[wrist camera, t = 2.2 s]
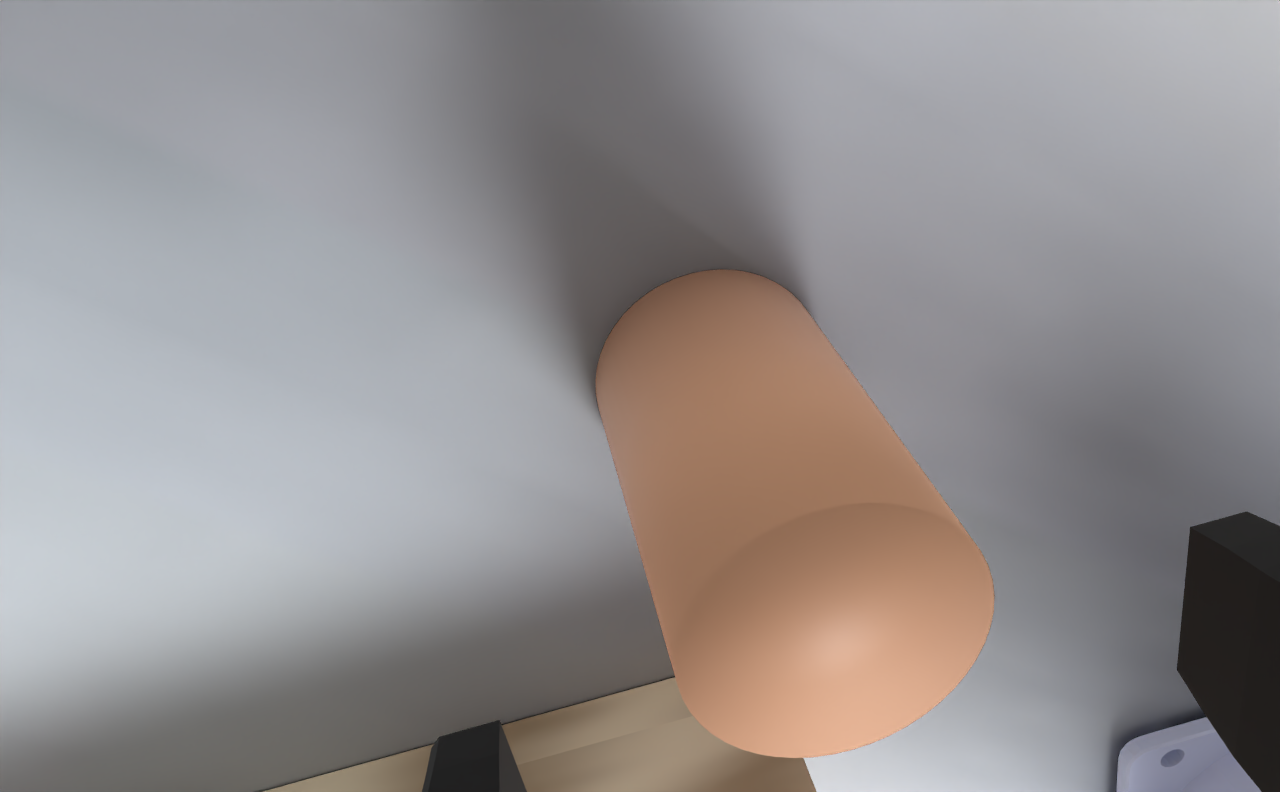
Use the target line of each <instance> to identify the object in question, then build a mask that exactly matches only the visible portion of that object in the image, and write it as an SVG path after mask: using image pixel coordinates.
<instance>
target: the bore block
mask: <svg viewBox="0 0 1280 792" xmlns="http://www.w3.org/2000/svg"><path fill="white" fill-rule="evenodd" d="M502 728H503V730H504V733H505V735H506V738H507V741H508V743H509V746H510V749H511V751H512V754H513V756H514V759H515V762H516V764H517V767H518V770H519V772H520V775H521V777H522V780H523V783H524V785H525V788H526V791H527V792H816V789H815V787H814V784H813V782H812V779H811V777H810V774H809V772H808V769H807V766H806V764H805V761H804V759H803V758H785V757H773V756H766V755H760V754H756V753H752V752H749V751H745V750H742V749H739V748H737V747H735V746H733V745H730V744H728V743H726V742H724V741H722V740H721V739H719V738H718V737H716V736H714V735H713V734H711V733H710V732H709V731H708V730H707V729H705V728H704V727H703V726H702V725H701V724H700V723H699V722H698V721H697V720H696V719H695V717H694V716H693V715H692V714H691V713H690V711H689V709H688V708H687V706H686V704H685V702H684V701H683V699H682V696H681V694H680V691H679V688H678V685H677V682H676V678H675V677H674V678H670V679H667V680H663V681H659V682H656V683H652V684H649V685H645V686H641V687H638V688H634V689H631V690H627V691H623V692H620V693H616V694H613V695H609V696H605V697H602V698H598V699H595V700H591V701H587V702H584V703H580V704H577V705H573V706H569V707H566V708H562V709H559V710H555V711H551V712H548V713H544V714H540V715H537V716H533V717H530V718H526V719H522V720H519V721H515V722H512V723H508V724H504V725H502ZM433 745H434V744H432V745H429V746H425V747H422V748H418V749H414V750H411V751H407V752H403V753H400V754H396V755H393V756H389V757H385V758H382V759H378V760H375V761H371V762H367V763H364V764H360V765H357V766H353V767H349V768H346V769H342V770H339V771H335V772H331V773H328V774H324V775H321V776H317V777H313V778H310V779H306V780H303V781H299V782H295V783H292V784H288V785H284V786H281V787H277V788H274V789H270V790H266V791H263V792H422V789H423V785H424V781H425V776H426V772H427V767H428V762H429V757H430V752H431V748H432V746H433Z"/></svg>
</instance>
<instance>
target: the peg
mask: <svg viewBox="0 0 1280 792" xmlns="http://www.w3.org/2000/svg"><path fill="white" fill-rule="evenodd" d="M595 382H596V398H597V403H598V408H599V411H600V415H601V418H602V422H603V425H604V429H605V433H606V436H607V440H608V443H609V447H610V450H611V454H612V457H613V461H614V464H615V468H616V471H617V475H618V478H619V482H620V485H621V489H622V492H623V496H624V499H625V503H626V506H627V510H628V513H629V517H630V520H631V524H632V527H633V531H634V534H635V538H636V541H637V545H638V548H639V552H640V555H641V559H642V562H643V566H644V569H645V573H646V576H647V580H648V583H649V587H650V590H651V594H652V597H653V601H654V605H655V608H656V612H657V615H658V619H659V622H660V626H661V629H662V633H663V636H664V640H665V643H666V647H667V650H668V654H669V657H670V661H671V664H672V668H673V671H674V675H675V678H676V682H677V685H678V688H679V691H680V694H681V696H682V699H683V701H684V702H685V704H686V706H687V708H688V709H689V711H690V713H691V714H692V715H693V716H694V717H695V719H696V720H697V721H698V722H699V723H700V724H701V725H702V726H703V727H704V728H705V729H707V730H708V731H709V732H710V733H711V734H713V735H714V736H716V737H718V738H719V739H721V740H722V741H724V742H726V743H728V744H730V745H733V746H735V747H737V748H739V749H742V750H745V751H749V752H752V753H756V754H760V755H766V756H773V757H785V758H806V757H818V756H825V755H832V754H837V753H841V752H845V751H849V750H853V749H856V748H859V747H862V746H865V745H868V744H871V743H874V742H876V741H878V740H880V739H883V738H885V737H887V736H890V735H892V734H893V733H895V732H897V731H899V730H901V729H903V728H905V727H907V726H908V725H910V724H911V723H913V722H914V721H916V720H917V719H919V718H920V717H922V716H923V715H925V714H926V713H927V712H929V711H930V710H931V709H932V708H934V707H935V706H936V705H937V704H939V703H940V702H941V701H942V700H943V699H944V698H945V697H946V696H947V695H948V694H949V693H950V692H951V691H952V690H953V689H954V688H955V687H956V686H957V685H958V684H959V682H960V681H961V680H962V679H963V678H964V677H965V675H966V674H967V673H968V671H969V670H970V668H971V667H972V665H973V664H974V662H975V661H976V659H977V657H978V655H979V653H980V651H981V650H982V648H983V646H984V644H985V641H986V638H987V635H988V633H989V630H990V627H991V622H992V617H993V612H994V587H993V580H992V576H991V573H990V570H989V566H988V564H987V562H986V560H985V558H984V556H983V554H982V552H981V551H980V549H979V548H978V547H977V545H976V544H975V542H974V541H973V540H972V538H971V537H970V535H969V534H968V533H967V531H966V530H965V529H964V527H963V526H962V524H961V523H960V522H959V520H958V519H957V517H956V516H955V515H954V513H953V512H952V511H951V509H950V508H949V506H948V505H947V504H946V502H945V501H944V499H943V498H942V497H941V495H940V494H939V493H938V491H937V490H936V488H935V487H934V486H933V484H932V483H931V481H930V480H929V479H928V477H927V476H926V475H925V473H924V472H923V470H922V469H921V468H920V466H919V465H918V463H917V462H916V461H915V459H914V458H913V457H912V455H911V454H910V452H909V451H908V450H907V448H906V447H905V445H904V444H903V443H902V441H901V440H900V439H899V437H898V436H897V434H896V433H895V432H894V430H893V429H892V428H891V426H890V425H889V423H888V422H887V421H886V419H885V418H884V416H883V415H882V414H881V412H880V411H879V410H878V408H877V407H876V405H875V404H874V403H873V401H872V400H871V398H870V397H869V396H868V394H867V393H866V392H865V390H864V389H863V387H862V386H861V385H860V383H859V382H858V380H857V379H856V378H855V376H854V375H853V374H852V372H851V371H850V369H849V368H848V367H847V365H846V364H845V362H844V361H843V360H842V358H841V357H840V356H839V354H838V353H837V351H836V350H835V349H834V347H833V346H832V344H831V343H830V342H829V340H828V339H827V338H826V336H825V335H824V333H823V332H822V331H821V329H820V328H819V326H818V325H817V324H816V322H815V321H814V320H813V318H812V317H811V315H810V314H809V313H808V311H807V310H806V309H805V307H804V306H803V305H802V304H801V302H800V301H799V300H798V299H797V298H796V297H795V296H794V295H793V294H792V293H791V292H789V291H788V290H787V289H785V288H784V287H782V286H781V285H779V284H778V283H776V282H774V281H772V280H770V279H768V278H766V277H763V276H759V275H756V274H753V273H749V272H744V271H739V270H724V269H720V270H706V271H701V272H696V273H691V274H688V275H684V276H681V277H678V278H675V279H673V280H671V281H669V282H666V283H664V284H662V285H660V286H659V287H657V288H655V289H654V290H652V291H650V292H649V293H647V294H646V295H644V296H643V297H642V298H641V299H639V300H638V301H637V302H636V303H634V304H633V305H632V306H631V307H630V308H629V309H628V310H627V311H626V312H625V313H624V314H623V316H622V317H621V318H620V320H619V321H618V322H617V323H616V325H615V326H614V328H613V329H612V331H611V333H610V334H609V336H608V338H607V339H606V342H605V344H604V346H603V349H602V351H601V354H600V358H599V361H598V365H597V371H596V379H595Z"/></svg>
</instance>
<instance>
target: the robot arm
mask: <svg viewBox="0 0 1280 792" xmlns="http://www.w3.org/2000/svg"><path fill="white" fill-rule="evenodd" d="M1177 671H1178V672H1179V674H1180V675H1181V677H1182V678H1183V680H1184V682H1185V683H1186V685H1187V686H1188V688H1189V690H1190V691H1191V693H1192V694H1193V696H1194V698H1195V699H1196V701H1197V702H1198V704H1199V706H1200V707H1201V709H1202V710H1203V712H1204V714H1205V715H1206V717H1204V718H1201V719H1197V720H1194V721H1190V722H1187V723H1183V724H1180V725H1176V726H1173V727H1169V728H1166V729H1162V730H1159V731H1155V732H1152V733H1148V734H1145V735H1141V736H1139V737H1136V738H1134V739H1132V740H1131V741H1129V742H1128V743H1127V744H1125V746H1124V747H1123V748H1122V749H1121V751H1120V754H1119V758H1118V773H1117V791H1116V792H1280V526H1278V525H1275V524H1273V523H1271V522H1269V521H1267V520H1264V519H1262V518H1260V517H1258V516H1256V515H1253V514H1251V513H1249V512H1243V513H1240V514H1236V515H1232V516H1229V517H1225V518H1222V519H1218V520H1215V521H1211V522H1207V523H1204V524H1200V525H1197V526H1193V527H1190V536H1189V546H1188V557H1187V567H1186V578H1185V589H1184V599H1183V610H1182V621H1181V631H1180V642H1179V653H1178V663H1177ZM422 792H527V791H526V788H525V785H524V783H523V780H522V777H521V775H520V772H519V770H518V767H517V764H516V762H515V759H514V756H513V754H512V751H511V749H510V746H509V743H508V741H507V738H506V735H505V733H504V730H503V728H502V725H501V722H500V720H498V721H495V722H491V723H488V724H484V725H480V726H477V727H473V728H470V729H466V730H463V731H459V732H455V733H452V734H448V735H445V736H441V737H439V738H438V740H437V741H436V742H435V744H434V745H433V746H432V748H431V752H430V757H429V762H428V767H427V772H426V776H425V781H424V785H423V789H422Z"/></svg>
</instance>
